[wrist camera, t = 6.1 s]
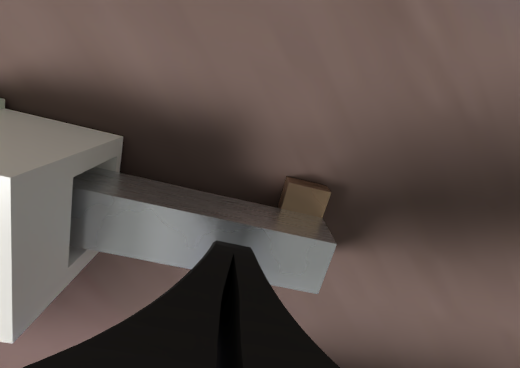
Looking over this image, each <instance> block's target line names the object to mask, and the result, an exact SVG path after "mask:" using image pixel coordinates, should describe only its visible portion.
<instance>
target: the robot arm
mask: <svg viewBox="0 0 520 368" xmlns="http://www.w3.org/2000/svg"><path fill="white" fill-rule="evenodd" d="M23 368H340V367H339V366H338V365H337V364H336V363H334V362H333V361H332V360H331V359H330V358H329V357H328V356H327V355H326V354H325V353H324V352H323V351H322V350H321V349H320V348H319V347H318V346H317V345H316V344H315V342H314V341H313V340H312V339H311V338H310V337H309V336H308V335H307V334H306V333H305V332H304V331H303V329H302V328H301V327H300V326H299V325H298V323H297V322H296V321H295V320H294V318H293V317H292V316H291V315H290V313H289V312H288V311H287V309H286V308H285V307H284V305H283V304H282V302H281V301H280V299H279V298H278V296H277V295H276V293H275V292H274V290H273V288H272V287H271V285H270V283H269V282H268V280H267V278H266V276H265V274H264V273H263V271H262V269H261V267H260V265H259V263H258V261H257V259H256V256H255V254H254V252H253V250H252V249H251V247H247V246H242V245H237V244H232V243H227V242H223V241H218V240H216V241H215V242H213V243H212V245H211V247H210V248H209V250H208V251H207V253H206V254H205V255H204V256H203V257H202V259H201V260H200V261H199V262H198V263H197V264H196V265H195V266H194V267H193V268H192V269H191V270H190V271H189V272H188V273H187V274H186V275H185V276H184V277H183V278H182V279H181V280H180V281H179V282H178V283H176V284H175V285H174V286H173V287H172V288H171V289H169V290H168V291H167V292H166V293H164V294H163V295H162V296H160V297H159V298H158V299H156V300H155V301H153V302H152V303H151V304H149V305H148V306H146V307H145V308H143V309H142V310H140V311H139V312H137V313H135V314H134V315H132V316H131V317H129V318H127V319H126V320H124V321H122V322H121V323H119V324H117V325H115V326H113V327H111V328H109V329H107V330H106V331H104V332H102V333H100V334H98V335H96V336H94V337H92V338H91V339H88V340H86V341H84V342H82V343H80V344H78V345H76V346H73V347H71V348H69V349H66V350H64V351H61V352H59V353H57V354H54V355H52V356H50V357H47V358H45V359H43V360H40V361H38V362H35V363H33V364H30V365H28V366H25V367H23Z"/></svg>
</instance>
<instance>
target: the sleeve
mask: <svg viewBox="0 0 520 368" xmlns="http://www.w3.org/2000/svg"><path fill="white" fill-rule="evenodd" d="M122 145H123V136H120V135H115V134H111V133H107V132H103V131H98V130H94V129H90V128H86V127H81V126H77V125H73V124H69V123H65V122H60V121H56V120H52V119H48V118H43V117H39V116H35V115H31V114H27V113H22V112H18V111H14V110H10V109H5V108H4V109H0V342H6V343H12V344H13V343H14V342H15V341H16V340H17V338H18V337H19V336H20V335H21V334H22V333H23V332H24V331H25V330H26V329H27V328H28V327H29V326H30V325H31V324H32V323H33V321H34V320H35V319H36V318H37V317H38V316H39V315H40V314H41V313H42V312H43V311H44V310H45V309H46V308H47V307H48V306H49V304H50V303H51V302H52V301H53V300H54V299H55V298H56V297H57V296H58V295H59V294H60V293H61V292H62V291H63V290H64V289H65V287H66V286H67V285H68V284H69V283H70V282H71V281H72V280H73V279H74V278H75V277H76V276H77V275H78V274H79V273H80V272H81V270H82V269H83V268H84V267H85V266H86V265H87V264H88V263H89V262H90V261H91V260H92V259H93V258H94V257H95V256H96V255H97V253H98V252H99V251H94V250H89V249H84V248H79V247H74V246H69V242H70V224H71V206H72V188H73V177H75V176H77V175H79V174H81V173H83V172H85V171H87V170H89V169H91V168H93V167H97V168H101V169H106V170H110V171H115V172H119V173H120V164H121V155H122Z"/></svg>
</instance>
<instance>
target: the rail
mask: <svg viewBox="0 0 520 368" xmlns="http://www.w3.org/2000/svg"><path fill="white" fill-rule="evenodd" d="M330 195H331V192H330V190H329V189H328V188H327V186H326V185H321V184H317V183H313V182H309V181H304V180H300V179H296V178H292V177H287V176H286V180H285V183H284V187H283V190H282V193H281V197H280V200H279V204H278V207H277V208H276V207H271V206H267V205H262V204H258V203H253V202H249V201H244V200H240V199H235V198H231V197H227V196H222V195H218V194H213V193H209V192H204V191H200V190H195V189H191V188H186V187H182V186H177V185H173V184H168V183H164V182H160V181H155V180H151V179H146V178H142V177H137V176H133V175H128V174H124V173H119V172H115V171H110V170H106V169H101V168H97V167H93V168H91V169H89V170H87V171H85V172H83V173H81V174H79V175H77V176H75V177H73V188H72V206H71V224H70V242H69V246H74V247H79V248H84V249H89V250H94V251H99V252H105V253H110V254H115V255H120V256H125V257H130V258H135V259H140V260H146V261H151V262H156V263H161V264H166V265H171V266H176V267H181V268H187V269H192V268H193V267H194V266H195V265H196V264H197V263H198V262H199V261H200V260H201V259H202V257H203V256H204V255H205V254H206V253H207V251H208V250H209V248H210V247H211V245H212V243H213V242H215V241H216V240H218V241H223V242H227V243H232V244H237V245H242V246H247V247H251V249H252V250H253V252H254V254H255V256H256V259H257V261H258V263H259V265H260V267H261V269H262V271H263V273H264V274H265V276H266V278H267V280H268V282H269V283H270V285H274V286H279V287H284V288H289V289H294V290H299V291H305V292H310V293H315V294H318V293H319V290H320V288H321V285H322V282H323V280H324V277H325V274H326V272H327V269H328V266H329V264H330V261H331V258H332V256H333V253H334V250H335V248H336V245H337V243H336V242H335V240H334V238H333V236H332V234H331V233H330V231H329V229H328V227H327V225H326V224H325V222H324V220H323V215H324V212H325V209H326V206H327V203H328V201H329V198H330Z"/></svg>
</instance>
